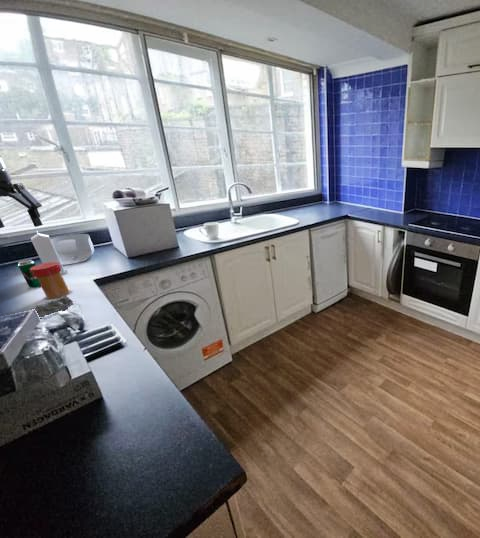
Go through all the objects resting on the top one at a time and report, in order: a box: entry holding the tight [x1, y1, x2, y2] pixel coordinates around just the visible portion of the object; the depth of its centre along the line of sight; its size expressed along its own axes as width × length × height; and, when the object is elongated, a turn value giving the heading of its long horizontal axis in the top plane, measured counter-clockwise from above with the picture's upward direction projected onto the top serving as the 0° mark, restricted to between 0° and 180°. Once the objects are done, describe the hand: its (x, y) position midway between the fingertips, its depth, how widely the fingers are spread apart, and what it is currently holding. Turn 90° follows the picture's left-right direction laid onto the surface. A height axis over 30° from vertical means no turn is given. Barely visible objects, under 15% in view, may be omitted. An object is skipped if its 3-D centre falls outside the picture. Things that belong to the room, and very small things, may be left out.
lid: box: [30, 262, 61, 277], centre depth 119 cm, size 8×8×3 cm
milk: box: [30, 230, 66, 276], centre depth 141 cm, size 6×6×22 cm
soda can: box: [17, 259, 41, 289], centre depth 130 cm, size 5×5×12 cm
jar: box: [37, 271, 71, 300], centre depth 121 cm, size 7×7×12 cm
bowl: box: [50, 233, 95, 266], centre depth 162 cm, size 20×19×12 cm
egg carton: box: [30, 295, 74, 317], centre depth 110 cm, size 11×8×4 cm
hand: (19, 227), depth 116 cm, fingers open, 13 cm apart
